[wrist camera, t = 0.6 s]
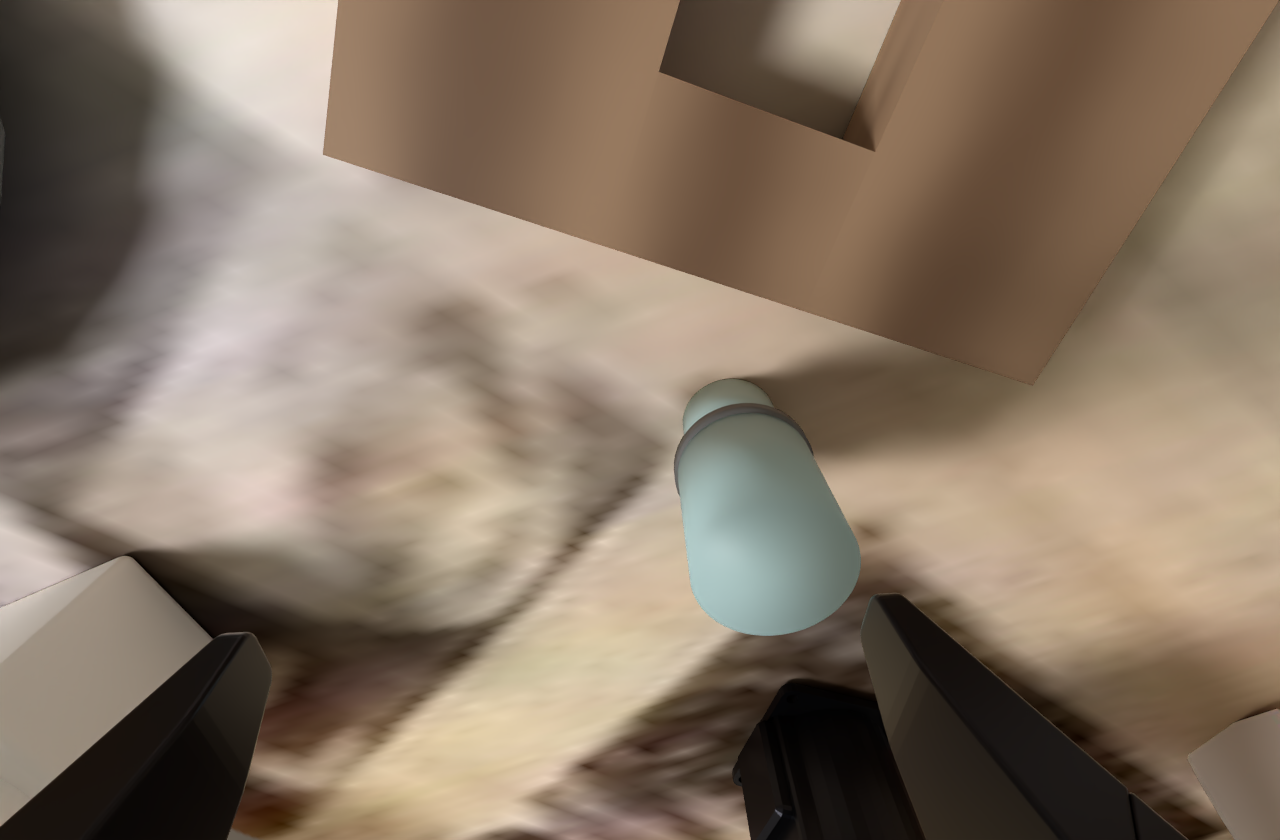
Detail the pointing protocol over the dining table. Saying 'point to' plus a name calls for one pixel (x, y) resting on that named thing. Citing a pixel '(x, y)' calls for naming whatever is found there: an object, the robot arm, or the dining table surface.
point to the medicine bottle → (81, 668)
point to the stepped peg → (759, 515)
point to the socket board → (810, 149)
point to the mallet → (1244, 776)
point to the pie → (1, 153)
